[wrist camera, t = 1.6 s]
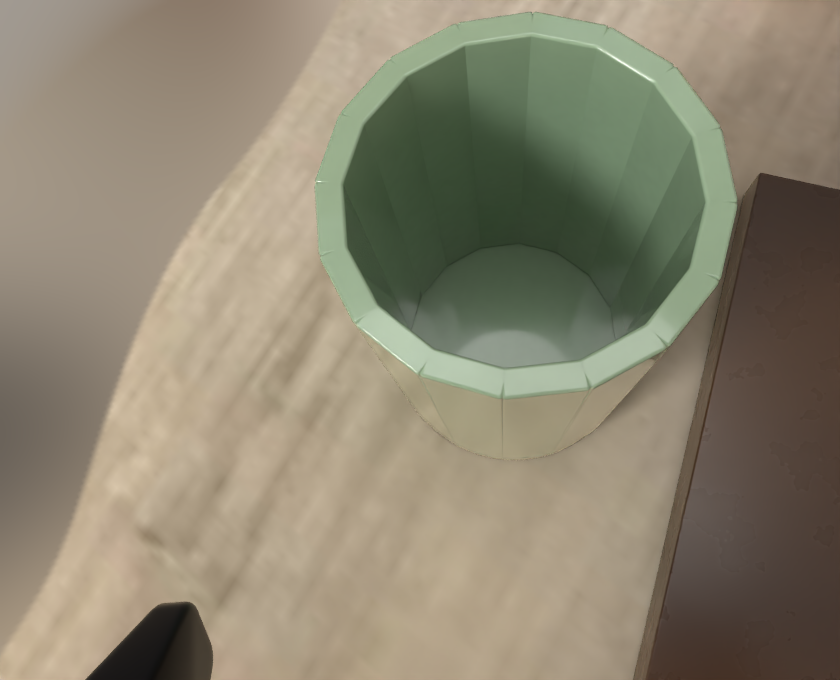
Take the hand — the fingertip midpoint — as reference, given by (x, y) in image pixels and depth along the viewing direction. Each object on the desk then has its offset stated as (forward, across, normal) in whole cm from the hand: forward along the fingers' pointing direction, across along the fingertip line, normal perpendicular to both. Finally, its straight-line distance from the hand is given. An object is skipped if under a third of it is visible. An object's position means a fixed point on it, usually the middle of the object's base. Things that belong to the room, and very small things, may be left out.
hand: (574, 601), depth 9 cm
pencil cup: (+13, 0, +5) cm, 14 cm away
